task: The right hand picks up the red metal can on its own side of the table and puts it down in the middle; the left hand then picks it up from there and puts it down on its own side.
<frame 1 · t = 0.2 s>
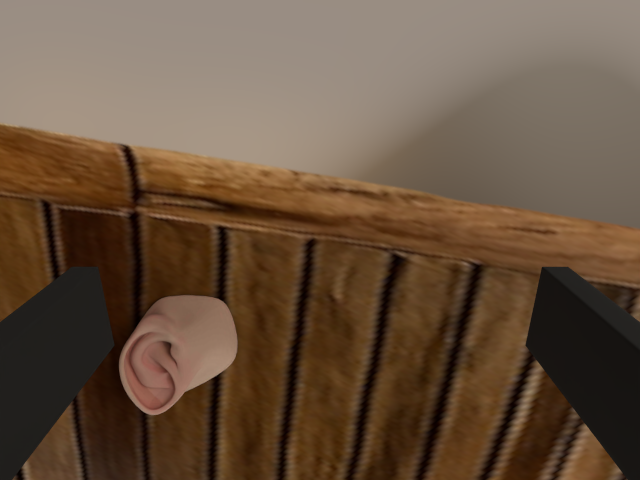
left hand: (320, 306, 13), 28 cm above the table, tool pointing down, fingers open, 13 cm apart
anatomical model: (183, 341, 46), on the table
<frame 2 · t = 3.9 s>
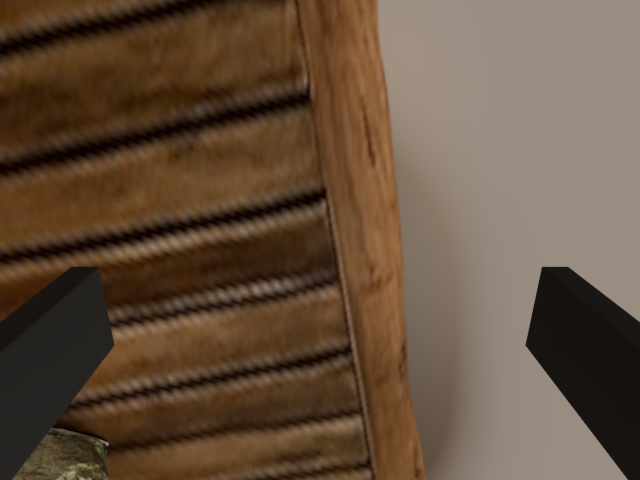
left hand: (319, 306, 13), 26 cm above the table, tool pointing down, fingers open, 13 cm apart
fossil: (47, 446, 49), on the table
when the right hand's fingers open (3 cm above the table, at t = 11.7 s): can drops 2 cm, on the table.
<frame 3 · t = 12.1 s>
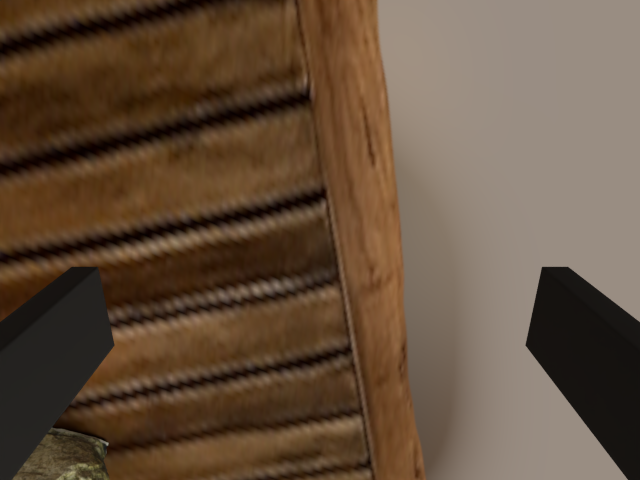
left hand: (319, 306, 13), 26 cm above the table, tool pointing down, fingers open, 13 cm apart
fossil: (47, 446, 49), on the table
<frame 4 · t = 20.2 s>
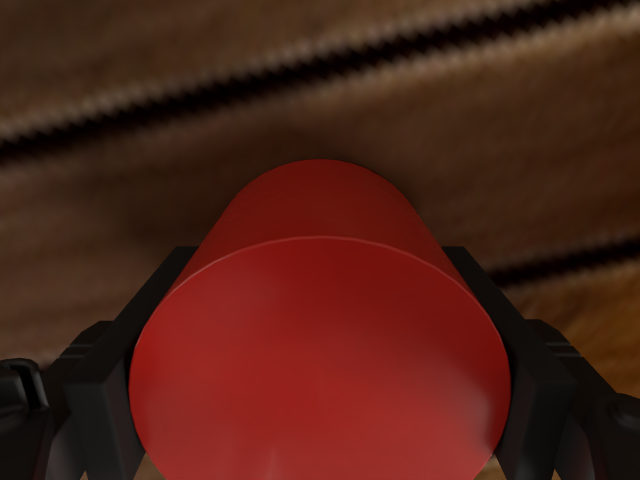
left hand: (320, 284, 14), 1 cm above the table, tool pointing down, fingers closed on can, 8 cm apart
can: (319, 265, 15), on the table, touching left hand
when the left hand's fingers open (3 cm above the table, at t = 29.3 s): can drops 2 cm, on the table.
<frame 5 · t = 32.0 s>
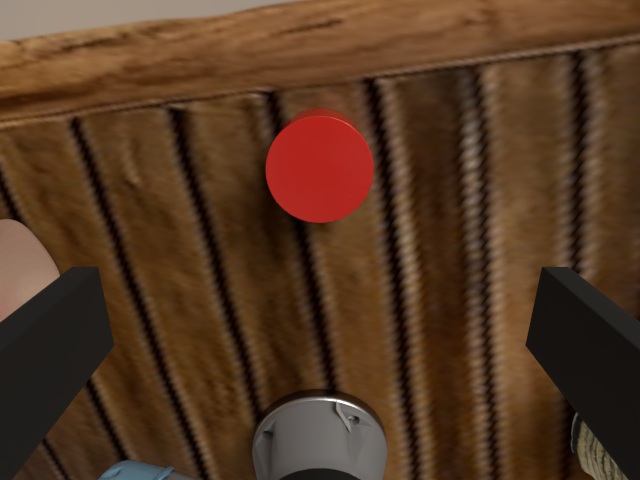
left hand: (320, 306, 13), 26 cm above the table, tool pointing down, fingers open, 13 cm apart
can: (319, 154, 37), on the table
anatomical model: (4, 281, 42), on the table
fossil: (614, 396, 47), on the table
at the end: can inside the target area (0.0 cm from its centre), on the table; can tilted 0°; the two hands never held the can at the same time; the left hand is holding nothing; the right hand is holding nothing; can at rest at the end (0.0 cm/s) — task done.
